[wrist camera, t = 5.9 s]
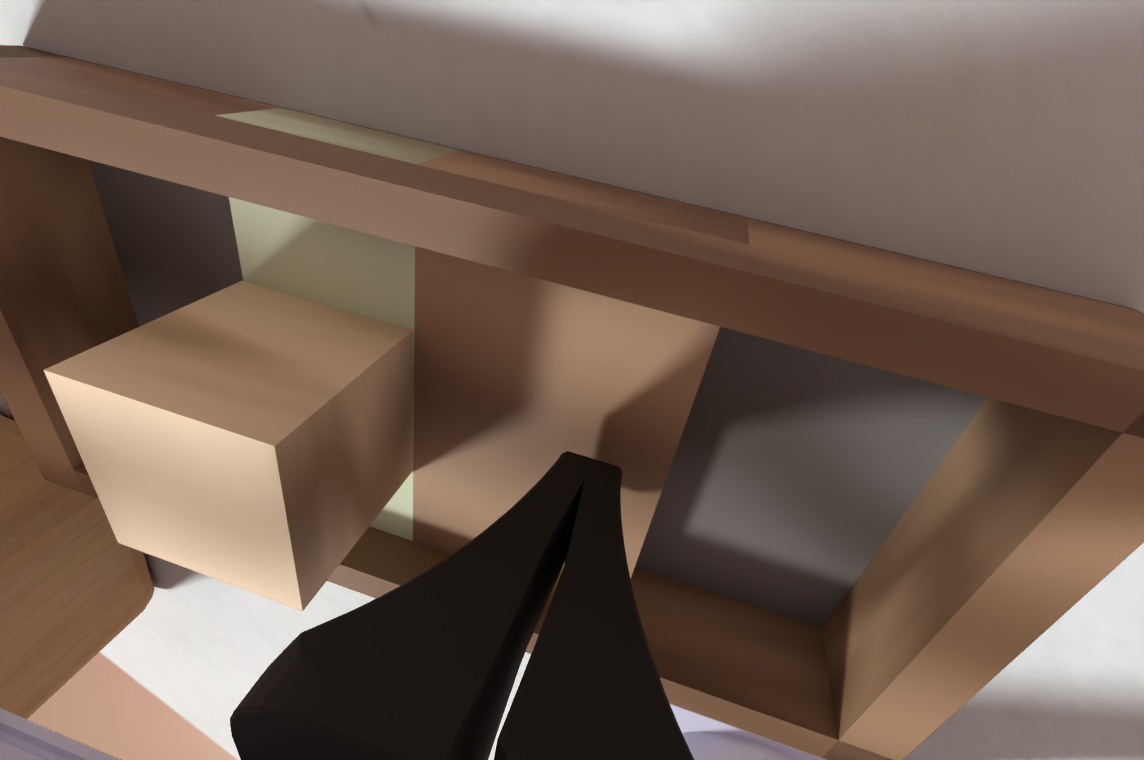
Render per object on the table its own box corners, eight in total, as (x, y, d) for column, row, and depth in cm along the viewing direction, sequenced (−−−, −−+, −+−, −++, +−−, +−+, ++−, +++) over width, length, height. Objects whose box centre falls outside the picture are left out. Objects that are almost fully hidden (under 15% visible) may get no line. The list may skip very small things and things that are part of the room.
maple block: (411, 472, 15) (302, 611, 11) (267, 425, 16) (117, 542, 12) (413, 330, 12) (274, 446, 9) (242, 280, 13) (43, 370, 9)
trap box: (856, 654, 17) (881, 779, 14) (144, 418, 20) (44, 479, 17) (1136, 310, 10) (1293, 408, 7) (20, 45, 14) (-174, 42, 11)
